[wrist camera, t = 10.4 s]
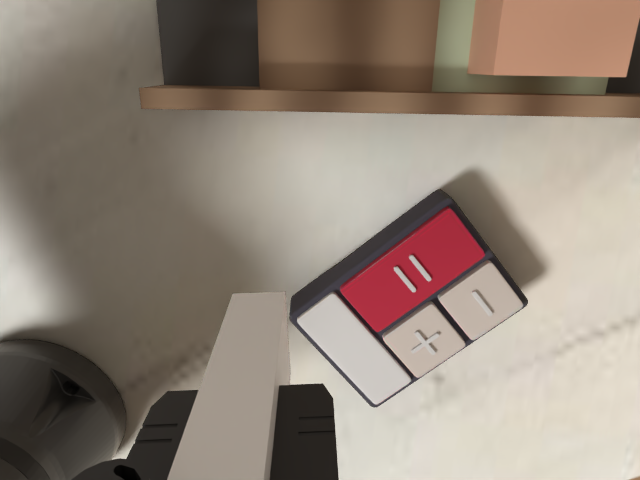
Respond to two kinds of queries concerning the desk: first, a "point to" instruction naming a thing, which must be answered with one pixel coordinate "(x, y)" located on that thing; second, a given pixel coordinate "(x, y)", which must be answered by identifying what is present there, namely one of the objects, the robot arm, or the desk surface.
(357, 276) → the calculator
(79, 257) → the desk surface
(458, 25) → the trap channel
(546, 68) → the block
